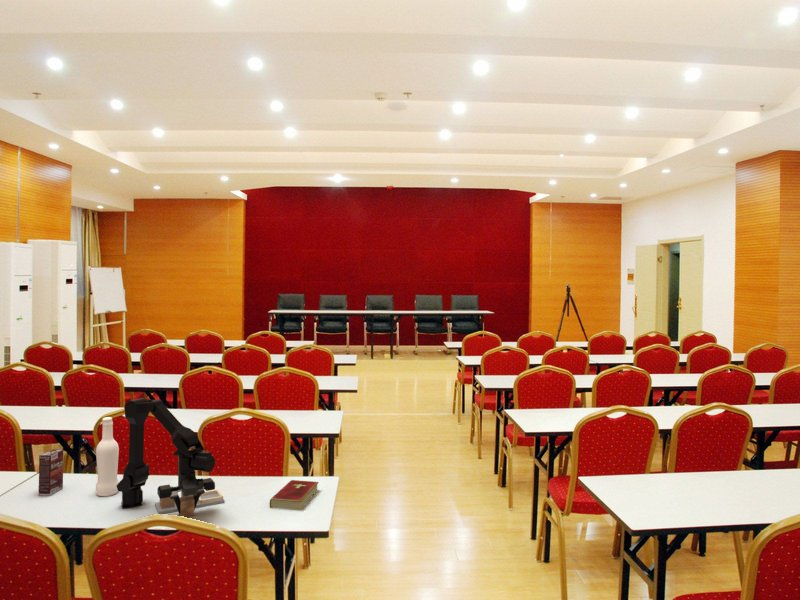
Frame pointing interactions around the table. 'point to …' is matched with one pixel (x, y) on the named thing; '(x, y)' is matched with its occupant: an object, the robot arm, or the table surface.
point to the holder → (204, 500)
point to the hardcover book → (294, 495)
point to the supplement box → (50, 472)
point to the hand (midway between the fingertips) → (186, 511)
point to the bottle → (107, 461)
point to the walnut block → (186, 506)
